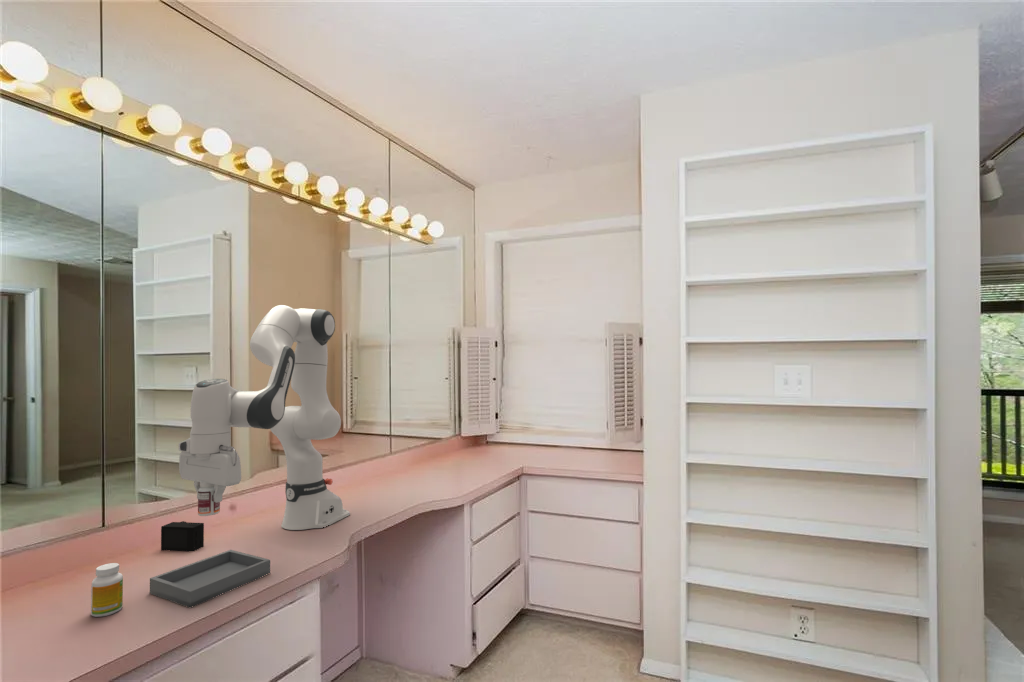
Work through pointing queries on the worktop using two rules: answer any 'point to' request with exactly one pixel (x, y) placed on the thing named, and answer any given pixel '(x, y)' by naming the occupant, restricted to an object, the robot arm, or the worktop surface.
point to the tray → (208, 577)
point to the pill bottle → (207, 500)
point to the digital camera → (182, 536)
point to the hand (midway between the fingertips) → (209, 500)
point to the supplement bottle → (107, 590)
